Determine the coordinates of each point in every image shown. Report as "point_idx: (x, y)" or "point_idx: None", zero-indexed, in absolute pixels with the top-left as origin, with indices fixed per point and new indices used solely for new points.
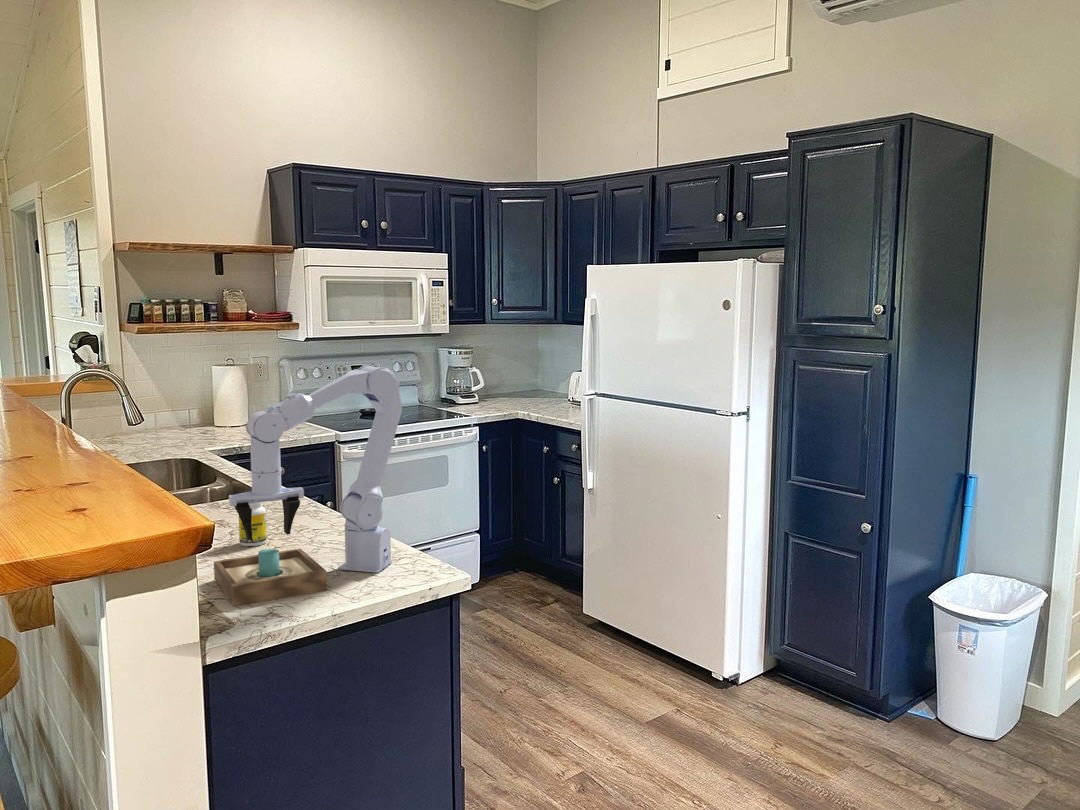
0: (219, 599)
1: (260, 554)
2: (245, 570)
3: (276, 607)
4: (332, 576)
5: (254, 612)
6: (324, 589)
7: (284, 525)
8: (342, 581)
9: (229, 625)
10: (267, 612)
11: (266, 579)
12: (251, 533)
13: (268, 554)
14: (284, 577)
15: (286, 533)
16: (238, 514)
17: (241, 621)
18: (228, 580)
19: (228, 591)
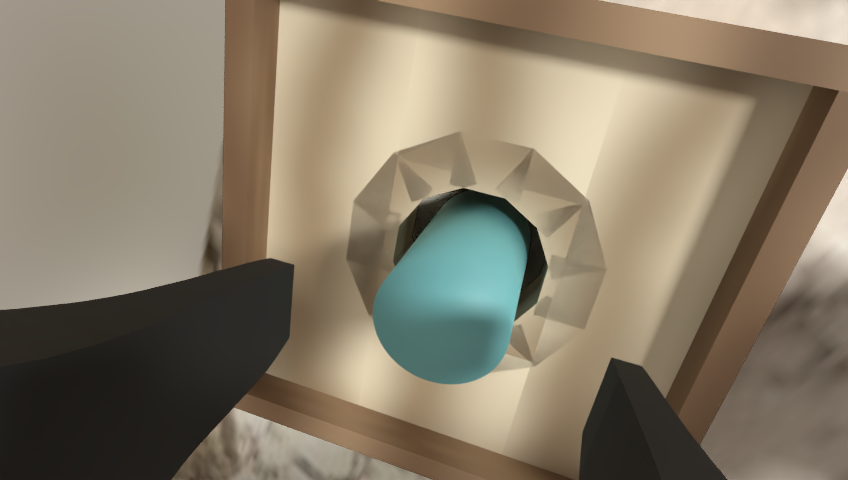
0: None
1: (375, 329)
2: (387, 124)
3: (383, 462)
4: (802, 359)
5: (309, 442)
6: None
7: (615, 414)
8: (772, 448)
9: (222, 465)
10: (342, 472)
11: (357, 441)
12: (250, 383)
13: (411, 372)
14: (432, 477)
15: (587, 424)
16: (12, 315)
17: (256, 467)
18: None
19: None
